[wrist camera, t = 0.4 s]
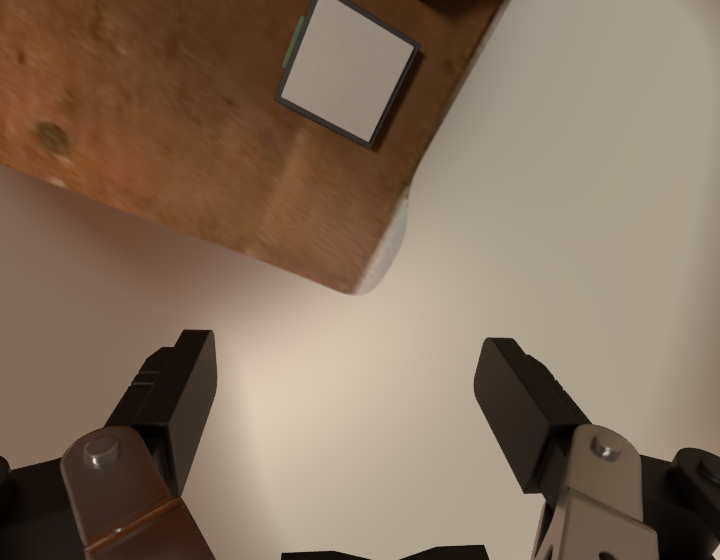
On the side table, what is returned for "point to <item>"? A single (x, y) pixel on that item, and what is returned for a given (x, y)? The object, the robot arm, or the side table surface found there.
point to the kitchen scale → (345, 69)
